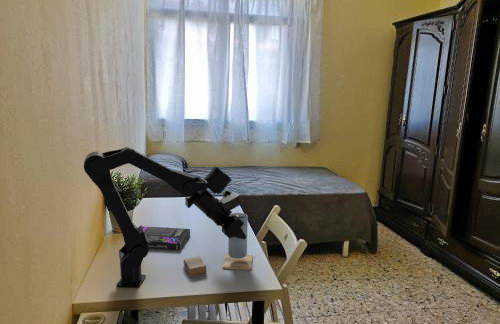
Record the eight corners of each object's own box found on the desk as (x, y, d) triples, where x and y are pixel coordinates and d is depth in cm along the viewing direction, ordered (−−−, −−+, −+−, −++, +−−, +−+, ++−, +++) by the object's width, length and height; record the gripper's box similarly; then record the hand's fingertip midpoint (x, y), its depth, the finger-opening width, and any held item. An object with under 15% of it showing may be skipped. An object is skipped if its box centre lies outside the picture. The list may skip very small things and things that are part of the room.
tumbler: (243, 259, 112) (244, 219, 110) (225, 256, 114) (226, 217, 111) (249, 251, 118) (250, 213, 115) (231, 249, 119) (232, 211, 117)
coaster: (251, 269, 112) (251, 267, 112) (222, 268, 112) (222, 267, 112) (252, 256, 121) (252, 255, 121) (225, 256, 121) (225, 254, 121)
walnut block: (206, 274, 109) (206, 265, 108) (190, 278, 107) (190, 268, 106) (199, 264, 115) (199, 256, 115) (183, 268, 113) (183, 259, 112)
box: (126, 250, 127) (180, 252, 125) (126, 240, 126) (180, 242, 124) (142, 234, 140) (190, 236, 138) (141, 226, 139) (190, 227, 138)
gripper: (237, 192, 102) (271, 225, 108) (217, 178, 118) (247, 207, 125) (211, 222, 100) (246, 253, 106) (194, 203, 117) (225, 231, 123)
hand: (241, 234), depth 115 cm, fingers closed on tumbler, 6 cm apart
